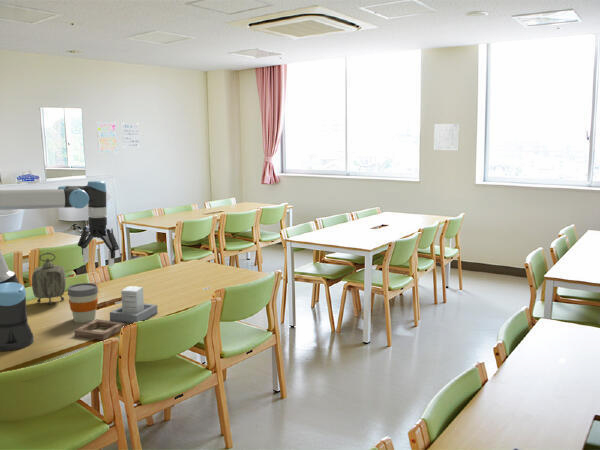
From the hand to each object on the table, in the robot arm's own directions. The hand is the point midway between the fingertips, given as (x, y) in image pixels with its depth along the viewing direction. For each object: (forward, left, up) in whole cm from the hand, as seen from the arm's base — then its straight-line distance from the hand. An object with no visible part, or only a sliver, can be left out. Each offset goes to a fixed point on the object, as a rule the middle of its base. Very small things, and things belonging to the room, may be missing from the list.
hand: (98, 264), depth 238 cm
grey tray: (+7, -13, -25) cm, 29 cm away
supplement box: (+7, -12, -25) cm, 28 cm away
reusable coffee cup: (-3, +6, -25) cm, 26 cm away
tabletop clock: (+10, +37, -25) cm, 46 cm away
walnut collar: (-14, -11, -25) cm, 31 cm away
